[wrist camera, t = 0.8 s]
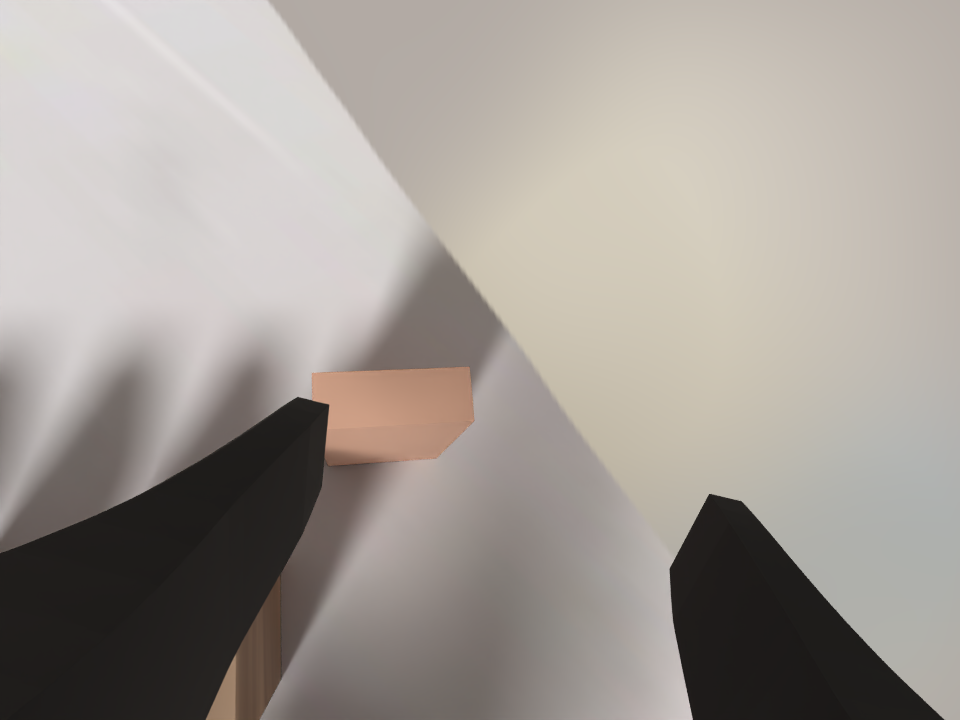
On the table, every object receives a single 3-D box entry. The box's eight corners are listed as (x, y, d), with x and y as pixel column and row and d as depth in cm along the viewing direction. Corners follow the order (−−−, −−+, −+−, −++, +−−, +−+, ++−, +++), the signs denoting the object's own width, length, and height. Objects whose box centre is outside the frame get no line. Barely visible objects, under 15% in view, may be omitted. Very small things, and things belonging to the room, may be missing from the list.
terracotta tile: (436, 458, 29) (474, 420, 19) (328, 466, 28) (312, 430, 18) (433, 420, 29) (469, 366, 20) (327, 427, 28) (311, 372, 19)
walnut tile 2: (280, 553, 26) (237, 563, 17) (281, 679, 25) (234, 765, 16) (236, 557, 26) (167, 570, 17) (235, 685, 25) (158, 778, 15)
